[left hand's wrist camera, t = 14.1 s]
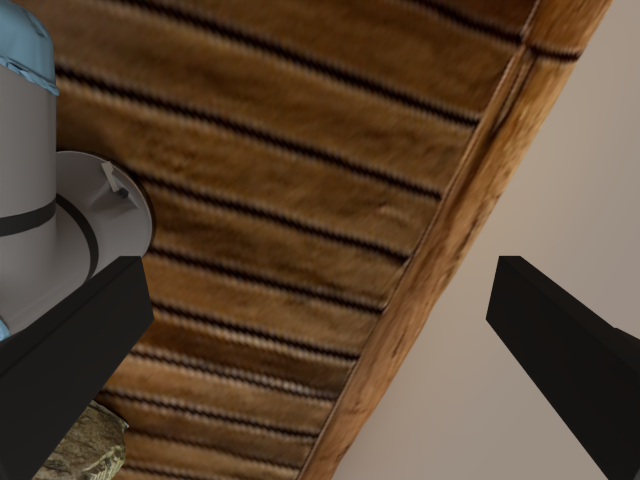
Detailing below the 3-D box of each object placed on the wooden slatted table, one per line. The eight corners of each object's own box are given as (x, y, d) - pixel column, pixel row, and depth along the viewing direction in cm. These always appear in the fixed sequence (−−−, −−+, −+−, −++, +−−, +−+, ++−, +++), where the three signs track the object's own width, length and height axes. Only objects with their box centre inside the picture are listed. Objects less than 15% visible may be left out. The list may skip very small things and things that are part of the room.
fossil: (134, 447, 56) (73, 561, 42) (16, 412, 53) (-92, 522, 39) (147, 410, 53) (86, 520, 39) (23, 371, 50) (-91, 475, 36)
